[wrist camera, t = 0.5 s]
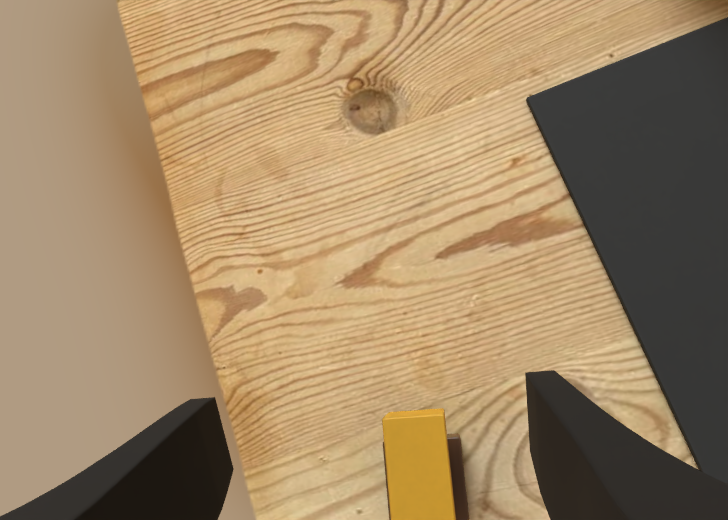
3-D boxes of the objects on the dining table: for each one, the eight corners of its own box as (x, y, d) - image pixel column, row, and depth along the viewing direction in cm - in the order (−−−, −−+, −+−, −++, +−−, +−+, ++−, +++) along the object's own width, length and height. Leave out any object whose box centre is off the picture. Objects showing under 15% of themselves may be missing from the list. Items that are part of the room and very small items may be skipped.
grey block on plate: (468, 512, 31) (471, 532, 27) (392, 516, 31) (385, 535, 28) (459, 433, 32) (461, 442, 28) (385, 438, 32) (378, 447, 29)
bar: (461, 571, 27) (463, 597, 24) (402, 573, 28) (397, 598, 25) (443, 408, 29) (443, 414, 26) (388, 412, 29) (382, 418, 26)
